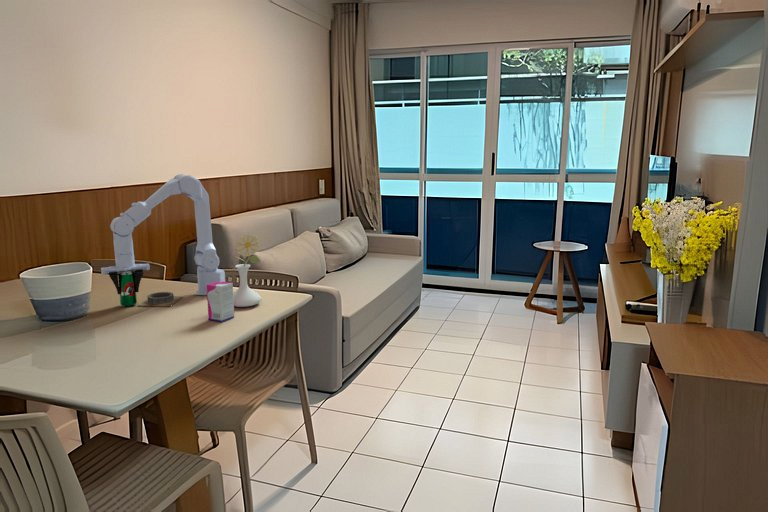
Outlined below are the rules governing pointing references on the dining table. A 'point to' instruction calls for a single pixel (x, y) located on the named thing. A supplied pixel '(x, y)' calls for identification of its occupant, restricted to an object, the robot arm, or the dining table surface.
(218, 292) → the supplement box
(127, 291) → the soda can
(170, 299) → the can socket
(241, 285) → the flower in vase
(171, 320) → the dining table surface
